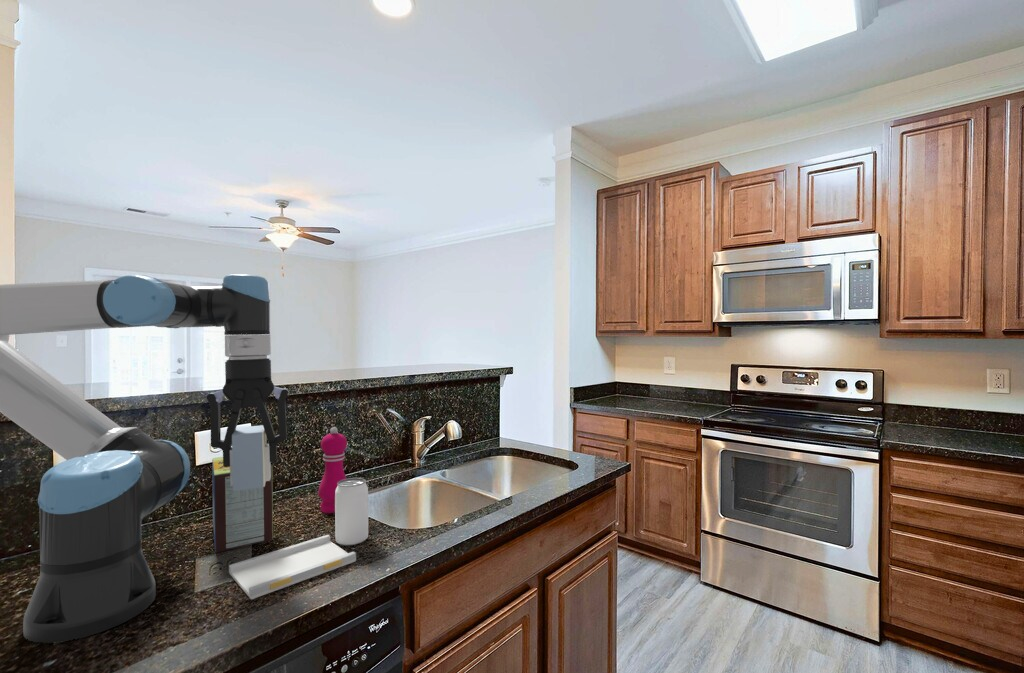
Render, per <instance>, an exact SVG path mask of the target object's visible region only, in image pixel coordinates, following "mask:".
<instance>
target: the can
mask: <svg viewBox="0 0 1024 673" xmlns="http://www.w3.org/2000/svg"><path fill="white" fill-rule="evenodd" d="M366 482H367V481H366V479H364V478H363V477H348V478H347V479H344V480H341V481H339V482H338V483H337V484H338V486H337V488H336V491H335V513H334V514H335V515H334V516H335V518H334V519H335V520H334V521H335V524H334V527H335V528H334V529H335V530H334V531H335V532H334V534H335V535H334V536H335V543H337V544H338V545H340V546H346V547H348V546H349V547H350V546H357V545H359V544H362V543H364V542H366V540H367V539H368V537H369V487H368V484H367V483H366Z"/></svg>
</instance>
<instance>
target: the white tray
mask: <svg viewBox="0 0 1024 673" xmlns="http://www.w3.org/2000/svg"><path fill="white" fill-rule="evenodd" d="M355 562H357V552H355V551H351V552H347V551H346V550H344V549H343V548H341V547H340V546H339V545H337V544H335V543H333V542H332V541H331V535H329V534H325V535H322V536H320V537H319V536H318V537H316V538H313V539H309V540H307V541H303V542H300V543H297V544H293V545H290V546H287V547H283V548H280V549H278V550H273V551H270V552H268V553H264V554H261V555H257V556H254V557H250V558H247V559H245V560H241V561H238V562H233V563H232V564H229V565H228V574H229V575H230V576H231V577H232V579H233V580H234V581H235V583H237V585H238V586H239V587H240V589H241V590H242V591H243V592H244V593H245V594H246V596H247V597H248V598H249V599H250V600H254V599H256V598H259V597H261V596H265V595H268V594H270V593H273V592H276V591H278V590H281V589H284V588H287V587H289V586H292V585H295V584H297V583H300V582H303V581H305V580H309V579H311V578H314V577H317V576H319V575H322V574H325V573H327V572H330V571H333V570H336V569H339V568H341V567H344V566H347V565H349V564H352V563H355Z"/></svg>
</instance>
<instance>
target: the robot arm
mask: <svg viewBox="0 0 1024 673" xmlns="http://www.w3.org/2000/svg"><path fill="white" fill-rule="evenodd" d="M270 302H271V299H270V292H269V283H268V280H267V279H266V278H265V277H263V276H260V275H253V274H228V275H226V276H224V277H223V282H222V284H221V285H217V286H197V285H196V286H193V285H184V284H181V283H177V282H176V283H175V282H171V281H168V280H167V281H166V280H163V279H158V278H156V277H152V276H149V275H134V274H133V275H132V274H131V275H123V276H121V277H118V278H116V279H101V280H100V279H99V280H94V279H93V280H76V281H75V280H74V281H73V280H72V281H56V282H55V281H54V282H53V281H52V282H51V281H50V282H32V283H26V282H25V283H10V284H6V283H5V284H0V413H1V414H2V415H4V416H5V417H6V418H8V419H9V420H10V421H12V422H13V423H15V424H16V425H17V426H19V427H20V428H21V429H23V430H24V431H25V432H27V433H28V434H30V435H31V436H32V437H34V438H35V439H37V440H38V441H40V442H41V443H42V444H44V445H45V446H47V447H48V448H49V449H51V450H52V451H53V452H55V453H56V454H57V455H58V456H60V457H62V458H63V459H65V460H64V461H62V462H59V463H58V464H55V465H54V466H52V467H51V468H50V469H48V470H47V471H45V473H44V474H43V475H42V478H41V480H40V487H39V489H40V490H39V494H38V496H37V504H38V507H39V557H40V558H39V561H40V562H39V563H40V564H39V565H40V567H39V568H40V571H39V572H40V573H39V577H38V580H37V582H36V586H35V587H34V590H33V593H32V596H31V598H30V600H29V603H28V605H27V608H26V610H25V613H24V615H23V621H22V622H23V624H22V625H23V627H22V631H23V632H22V633H23V634H22V635H23V637H24V639H25V640H27V639H28V640H27V641H29V640H30V641H29V642H31V641H34V642H33V643H36V642H48V643H47V644H55V643H54V642H56V643H62V641H64V642H68V641H69V640H70V641H73V639H75V640H78V638H79V639H82V637H83V638H87V637H90V636H92V635H95V634H99V633H102V632H105V631H107V630H110V629H113V628H115V627H118V626H119V625H121V624H123V623H126V622H128V621H130V620H131V619H133V618H135V617H137V616H138V615H139V614H141V613H143V612H144V611H145V610H147V609H148V608H149V607H150V606H151V605H152V603H153V602H154V601H155V598H156V595H157V594H156V590H157V589H156V588H157V587H156V579H155V577H154V576H153V573H152V570H151V569H150V566H149V564H148V561H147V560H146V558H145V555H144V553H143V549H142V548H143V546H142V545H143V544H142V536H143V535H142V519H144V518H145V517H147V516H148V515H150V514H151V513H153V512H155V511H156V510H157V509H159V508H161V507H163V506H164V505H167V504H168V503H170V502H171V501H173V499H174V498H175V497H176V496H177V495H178V494H179V493H180V492H181V491H182V490H183V489H184V487H185V486H186V485H187V483H188V481H189V478H190V474H191V462H190V458H189V455H188V454H187V452H186V451H185V449H184V448H183V447H182V446H181V445H180V444H178V443H176V442H174V441H171V440H166V439H154V438H152V437H151V436H149V435H148V434H147V433H146V432H144V431H143V430H141V429H140V428H139V427H137V426H131V427H130V426H129V427H122V426H120V425H119V424H118V423H116V422H115V421H113V419H111V418H109V417H108V416H106V414H104V413H102V412H101V411H100V410H99V409H97V408H96V407H95V406H93V405H92V404H90V403H89V402H88V401H87V400H85V399H84V398H83V397H82V396H80V395H79V394H77V393H76V392H74V391H73V390H72V389H70V388H69V387H68V386H66V385H65V384H64V383H63V382H61V381H60V380H58V379H57V378H56V377H54V376H53V375H52V374H50V373H49V372H47V371H46V370H45V369H43V367H41V366H39V364H36V363H35V362H34V361H33V360H31V359H30V358H29V357H27V356H26V355H25V354H23V353H22V352H21V351H20V350H18V349H17V348H16V347H15V346H13V345H11V344H10V343H9V339H10V336H11V335H12V336H13V335H25V334H26V335H27V334H41V333H43V334H44V333H55V332H56V333H57V332H58V333H59V332H71V331H84V330H85V331H86V330H88V331H89V330H102V329H116V328H121V329H122V328H137V327H138V328H139V327H157V328H167V329H180V328H206V327H207V328H208V327H210V328H211V327H212V328H213V327H215V328H219V327H220V328H221V327H223V328H224V332H223V333H224V356H225V357H227V358H228V359H227V360H226V361H224V364H225V365H224V368H225V382H224V383H225V384H224V386H222V389H220V390H217V391H215V392H210V393H208V394H207V395H206V400H207V402H208V404H209V406H210V408H209V409H210V446H211V448H214V449H215V448H217V449H220V450H221V451H222V457H223V465H224V467H230V486H233V463H232V434H233V433H234V432H235V430H236V428H237V426H238V422H239V419H240V414H241V411H242V409H245V408H256V409H257V412H258V414H259V417H260V420H261V424H262V425H263V427H264V430H265V433H266V440H267V441H268V443H267V444H266V445H265V481H270V479H271V465H272V464H271V463H273V462H276V461H277V458H278V450H277V448H278V447H277V445H278V443H281V442H284V441H286V440H287V438H288V437H287V436H288V434H287V407H286V400H287V397H288V394H289V389H288V388H286V387H284V388H281V387H278V386H275V384H274V383H273V381H272V364H271V363H272V360H271V359H270V358H269V357H268V356H270V355H271V353H272V352H271V348H272V347H271V329H270V327H271V326H270V324H271V323H270V322H271V321H270V319H271V318H270V317H271V314H270V312H271V311H270V310H271V308H270V306H271V305H270V304H271V303H270ZM272 393H274V397H275V399H277V408H278V409H277V411H278V433H279V434H277V435H276V432H275V430H274V427H273V424H272V421H271V418H270V414H269V411H268V409H267V404H266V401H267V400H268V398H269V397H270V396H271V394H272ZM224 396H225V397H226V398H227V399H228V400H229V401H230V403H231V404H232V409H231V414H230V417H229V420H228V421H229V422H228V424H227V428H226V432H225V436H224V439H221V433H222V432H221V429H222V428H221V403H222V402H223V401H224V398H223V397H224ZM70 641H69V642H70ZM49 642H51V643H49ZM52 642H53V643H52Z"/></svg>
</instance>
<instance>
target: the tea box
mask: <svg viewBox="0 0 1024 673" xmlns="http://www.w3.org/2000/svg"><path fill="white" fill-rule="evenodd" d="M267 441H268V439H267V436H266V433H265V430H264V427H263V424H259V425H252V426H238V427H236V430H235V432H234V433H233V434H232V445H231V448H232V463H233V491H237V490H245V489H252V488H260V487H265V483H266V481H265V445H266V444H268V443H267Z"/></svg>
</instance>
